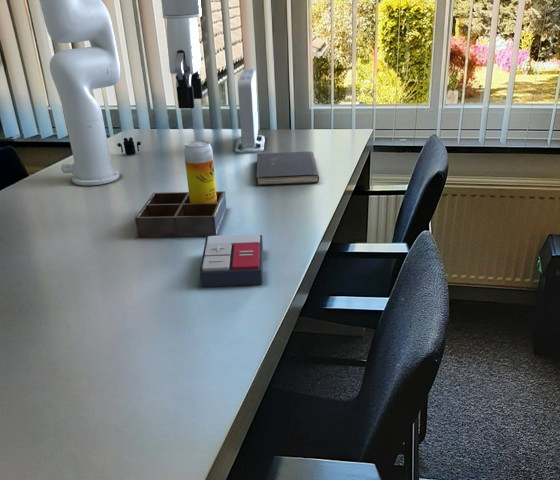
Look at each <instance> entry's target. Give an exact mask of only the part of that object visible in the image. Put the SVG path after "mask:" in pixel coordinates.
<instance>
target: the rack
mask: <svg viewBox="0 0 560 480" xmlns="http://www.w3.org/2000/svg"><path fill="white" fill-rule="evenodd" d="M216 195H217V203H192V204H190V199H189V191H172V192H171V191H170V192H152V193H151V195H150V197H148V199H147V201H146V202H145V203H144V205H143V206H142V208H141V209H140V211H138V213H137V214H136V216H135V217H134V221H135V226H136V232H137V237H138V238H189V237H190V238H191V237H193V238H195V237H203V238H204V237H208V236H218V234H219V230H220V228H221V225H222V223H223V220H224V217H225V215H226V212H227V209H228V208H227V198H226V191H222V190H221V191H216Z"/></svg>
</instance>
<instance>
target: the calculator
mask: <svg viewBox="0 0 560 480" xmlns="http://www.w3.org/2000/svg"><path fill="white" fill-rule="evenodd" d="M199 277H200V286H201V287H202V288H212V287H236V286H237V287H238V286H261V285H263V283H264V241H263V235H262V234H260V233H250V234H248V233H247V234H221V235H217V236H205V241H204V247H203V252H202V257H201V263H200V267H199Z"/></svg>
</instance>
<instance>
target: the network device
mask: <svg viewBox="0 0 560 480" xmlns="http://www.w3.org/2000/svg"><path fill="white" fill-rule="evenodd" d="M256 78H257V76H256V69H255V68H249V69H248V68H247V69H246V68H245V69H244V68H243V69H242V70H241V73H240V75H239V77H238V80H237V91H238V92H237V93H238V94H237V95H238V105H239V120H240V123H239V124H240V136H239V137H237V140H236V143H235V146H234V147H235V148H234V151H235V152H236V153H239V154H240V153H242V154H244V153H245V154H246V153H261V152H262V151H264V149H265V143H266V142H265V140H266V137H265V135H258V134H259V120H258V119H259V117H258V116H259V115H258V98H257V97H258V96H257V79H256ZM257 139H261V140H257ZM257 146H259V148H256V147H257ZM240 147H242V149H239V148H240Z"/></svg>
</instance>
